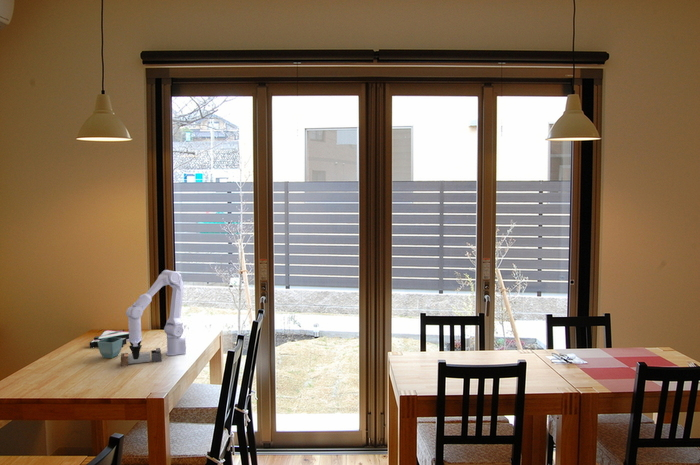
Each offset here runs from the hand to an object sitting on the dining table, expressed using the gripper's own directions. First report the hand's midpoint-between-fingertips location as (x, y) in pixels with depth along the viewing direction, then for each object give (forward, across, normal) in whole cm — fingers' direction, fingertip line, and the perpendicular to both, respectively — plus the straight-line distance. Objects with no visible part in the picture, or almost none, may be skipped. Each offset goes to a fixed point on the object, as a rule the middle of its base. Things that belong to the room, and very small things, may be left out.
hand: (136, 356), depth 264 cm
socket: (+3, 0, -5) cm, 6 cm away
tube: (+3, 0, 0) cm, 3 cm away
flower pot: (+3, -15, -12) cm, 20 cm away
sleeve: (+3, 0, +9) cm, 10 cm away
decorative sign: (+3, -46, -13) cm, 48 cm away
